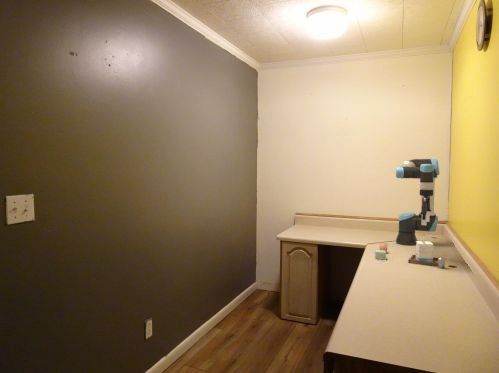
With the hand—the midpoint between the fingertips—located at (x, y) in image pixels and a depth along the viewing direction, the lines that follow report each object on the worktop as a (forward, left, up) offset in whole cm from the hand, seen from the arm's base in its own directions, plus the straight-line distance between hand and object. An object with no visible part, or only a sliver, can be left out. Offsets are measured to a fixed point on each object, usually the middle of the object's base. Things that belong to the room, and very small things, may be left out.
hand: (425, 223), depth 222 cm
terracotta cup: (-10, -27, -24) cm, 38 cm away
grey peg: (+9, +10, -24) cm, 28 cm away
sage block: (+7, -25, -24) cm, 36 cm away
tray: (0, 0, -24) cm, 24 cm away
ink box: (0, 0, -24) cm, 24 cm away
